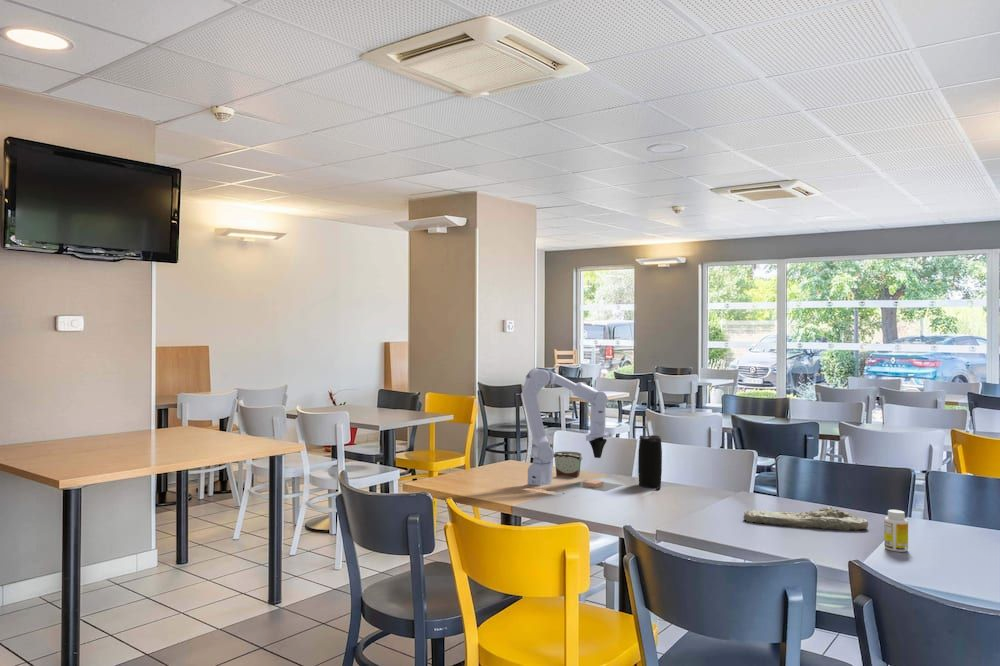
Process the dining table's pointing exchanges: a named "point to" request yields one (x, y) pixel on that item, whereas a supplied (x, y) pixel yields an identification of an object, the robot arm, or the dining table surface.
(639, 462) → the portable speaker
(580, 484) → the slate board
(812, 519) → the long grey stone
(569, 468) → the food container
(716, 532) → the dining table surface
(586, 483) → the tile
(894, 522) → the supplement bottle
